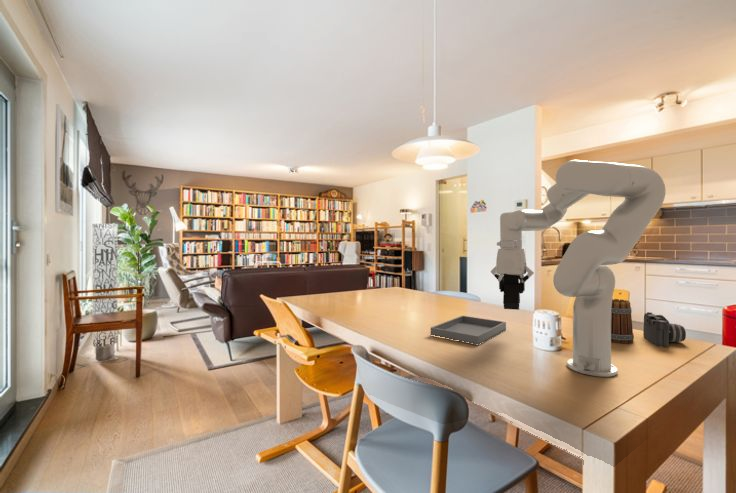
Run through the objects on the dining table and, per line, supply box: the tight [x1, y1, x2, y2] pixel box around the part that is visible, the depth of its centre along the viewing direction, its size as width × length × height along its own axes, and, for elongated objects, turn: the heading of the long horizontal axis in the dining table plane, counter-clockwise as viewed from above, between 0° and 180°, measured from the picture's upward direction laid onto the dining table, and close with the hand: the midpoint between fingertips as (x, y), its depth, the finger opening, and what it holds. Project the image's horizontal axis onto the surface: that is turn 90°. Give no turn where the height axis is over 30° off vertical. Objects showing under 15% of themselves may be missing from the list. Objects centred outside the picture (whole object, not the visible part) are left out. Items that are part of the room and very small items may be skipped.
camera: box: [642, 311, 687, 348], centre depth 126 cm, size 14×11×10 cm
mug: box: [611, 298, 635, 344], centre depth 131 cm, size 16×11×15 cm
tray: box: [430, 315, 507, 344], centre depth 142 cm, size 28×20×4 cm
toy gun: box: [502, 274, 521, 311], centre depth 130 cm, size 5×18×12 cm
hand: (511, 291), depth 130 cm, fingers closed on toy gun, 6 cm apart
